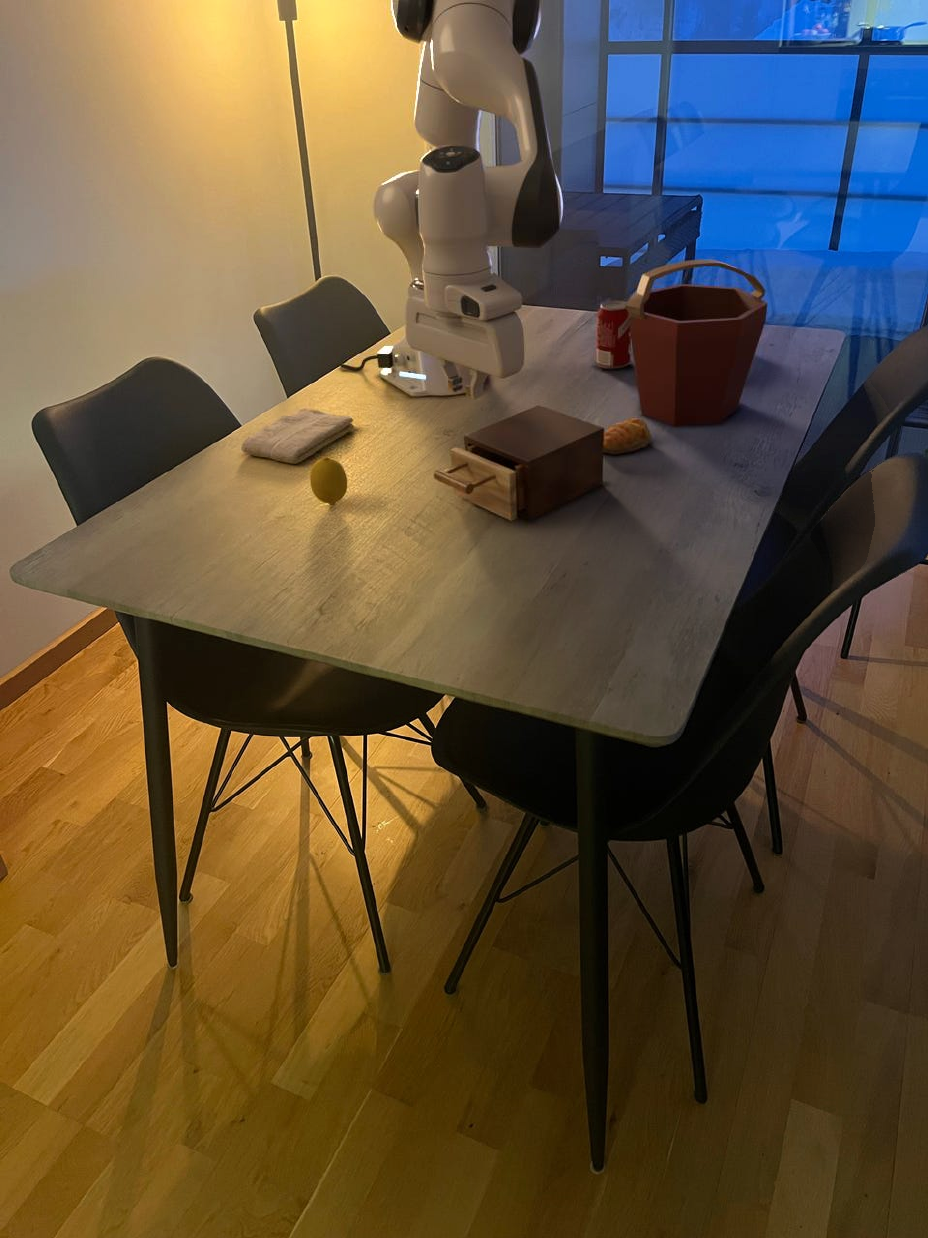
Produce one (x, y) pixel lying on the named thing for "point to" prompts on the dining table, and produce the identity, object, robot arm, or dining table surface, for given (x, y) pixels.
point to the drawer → (486, 480)
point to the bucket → (693, 344)
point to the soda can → (613, 335)
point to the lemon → (328, 480)
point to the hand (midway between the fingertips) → (464, 393)
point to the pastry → (626, 436)
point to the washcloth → (297, 435)
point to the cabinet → (547, 455)
